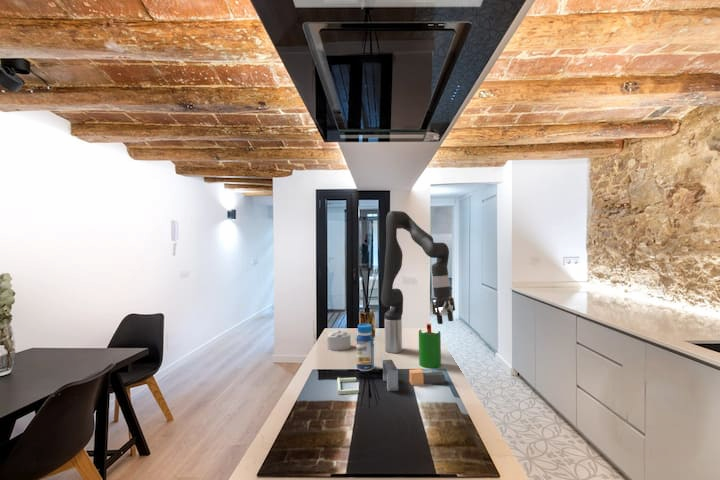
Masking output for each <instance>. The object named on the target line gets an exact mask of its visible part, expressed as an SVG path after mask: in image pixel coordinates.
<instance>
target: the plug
mask: <svg viewBox="0 0 720 480" xmlns="http://www.w3.org/2000/svg"><path fill="white" fill-rule="evenodd" d="M408 374H409V376H408V378H409V379H408V381H409V383H410V385H411V386H420V385H421V386H423V385H435V384H445V382H446V381H445V379H446V378H445V373H444V372H443V371H435V372H434V371H433V372H430V371H429V372H424V371H423V370H422V369H421V368H420V369H419V368H417V369H409V373H408Z"/></svg>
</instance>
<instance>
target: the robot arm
mask: <svg viewBox="0 0 720 480" xmlns="http://www.w3.org/2000/svg"><path fill="white" fill-rule="evenodd" d="M399 229H400V230H401V229H403V230H405V231H407V232H408V233H409V234H410V237H411V239H412V240H413V242H414V243H416V244H417V246H419V247H421V248H422V250H423V251H424V253H425V254H426V255H427V257H429V258H433V259H436V262H435V263H433V264H432V265H431V274H432V287H433V295H434V296H433V297H434V298H436V299H435V300H432V301H431V303H432V304H431V305H432V314H433V315H434V316H436V321H437V322H436V323H437V324H438V325H443V322H444V320H443V312H444V311H446V313H447V314H446V315H447V320H448V322H453V321H454V311H456V306H455V305H456V304H455V300H454V297H451V296H452V292H451V291H452V290H451V283H450V277H449V270H448V265H449V256H450V249H449V247H448V244H446V243H445V242H434V237H433V236H432V235H430V234H429V233H428V232H426V231H425V230H424V229H422V228H421V227H420V226H419V225H418V223H416V222H415V220H414V219H412V218H411V217H410V215H409V214H408V213H406V211H401V210H400V211H399V210H390V211H388V213H387V215H386V219H385V232H386V233H385V234H386V235H385V237H386V240H385V253H384V255H385V256H384V270H383V271H384V272H383V281H382V286H381V294H380V300H381V303H382V305H383V306H384V307H385V308H387V307H388V308H389V307H390V308H389V310H387V311H386V312H385V313H384V351H385V352H387V353H389V354H398V353H401V352H403V334H402V333H403V328H402V327H403V324H402V323H403V322H402V318H403V317H402V316H403V314H404V313H403V312H404V295H403V292H402V290H401V289H399V288H394V287H393V286H394V282H395V279H396V277H397V276H398V275H399V273H400V271H401V269H402V266H403V256H404V255H403V250H402V248H401V245H400V244H399V241H398V238H397V235H398V231H397V230H399Z"/></svg>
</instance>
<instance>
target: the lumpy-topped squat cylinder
mask: <svg viewBox="0 0 720 480" xmlns="http://www.w3.org/2000/svg"><path fill="white" fill-rule="evenodd" d="M326 343H327V344H326V345H327V346H326V349H327V350H328V351H343V350H349V349H351V348H352V346H351V345H352V343H351V334H350V333H349V332H347V331H345V330H340V329H339V330H335V331H333V330H331V331H330V332H329V333H328V332H327V336H326Z"/></svg>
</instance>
